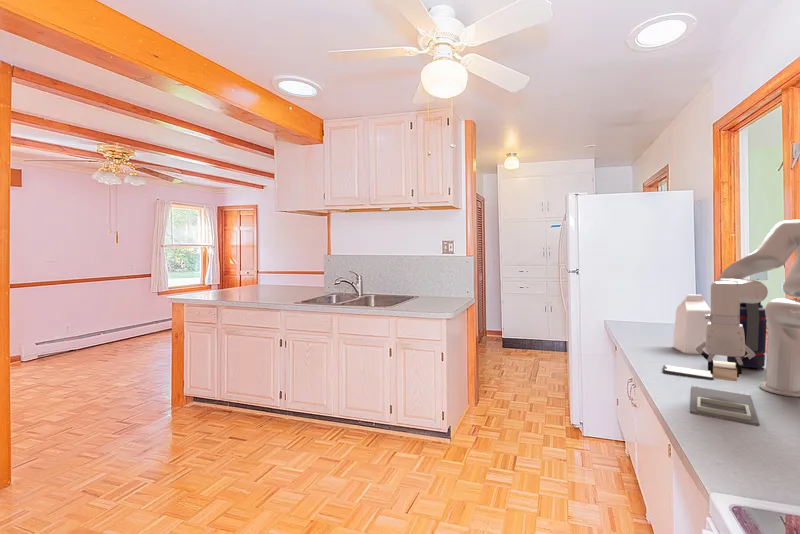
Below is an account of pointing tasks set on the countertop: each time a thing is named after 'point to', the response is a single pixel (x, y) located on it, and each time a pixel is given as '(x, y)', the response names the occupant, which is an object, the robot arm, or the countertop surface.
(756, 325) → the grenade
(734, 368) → the block
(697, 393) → the mat
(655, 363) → the countertop surface
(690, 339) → the milk
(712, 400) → the tray
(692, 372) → the smartphone
